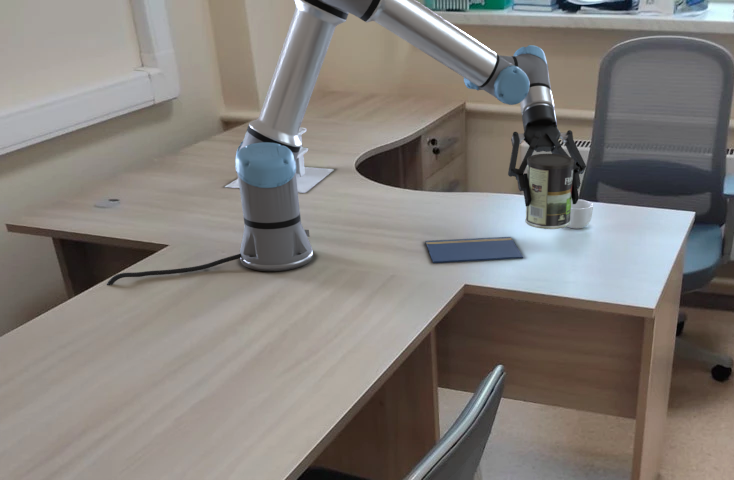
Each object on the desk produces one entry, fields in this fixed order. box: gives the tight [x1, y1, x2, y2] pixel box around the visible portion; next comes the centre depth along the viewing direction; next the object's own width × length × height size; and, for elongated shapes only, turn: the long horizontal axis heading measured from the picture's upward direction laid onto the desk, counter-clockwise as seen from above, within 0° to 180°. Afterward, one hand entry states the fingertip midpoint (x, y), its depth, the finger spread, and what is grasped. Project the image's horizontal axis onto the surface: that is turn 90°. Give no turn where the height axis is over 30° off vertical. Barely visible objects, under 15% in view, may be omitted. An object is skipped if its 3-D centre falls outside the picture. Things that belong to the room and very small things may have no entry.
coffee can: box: [524, 153, 574, 230], centre depth 186 cm, size 10×10×14 cm
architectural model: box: [224, 126, 336, 194], centre depth 231 cm, size 23×24×18 cm
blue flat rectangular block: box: [425, 236, 524, 264], centre depth 189 cm, size 20×13×1 cm, turn 102°
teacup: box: [567, 198, 594, 230], centre depth 205 cm, size 10×8×5 cm
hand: (552, 202), depth 185 cm, fingers closed on coffee can, 10 cm apart
